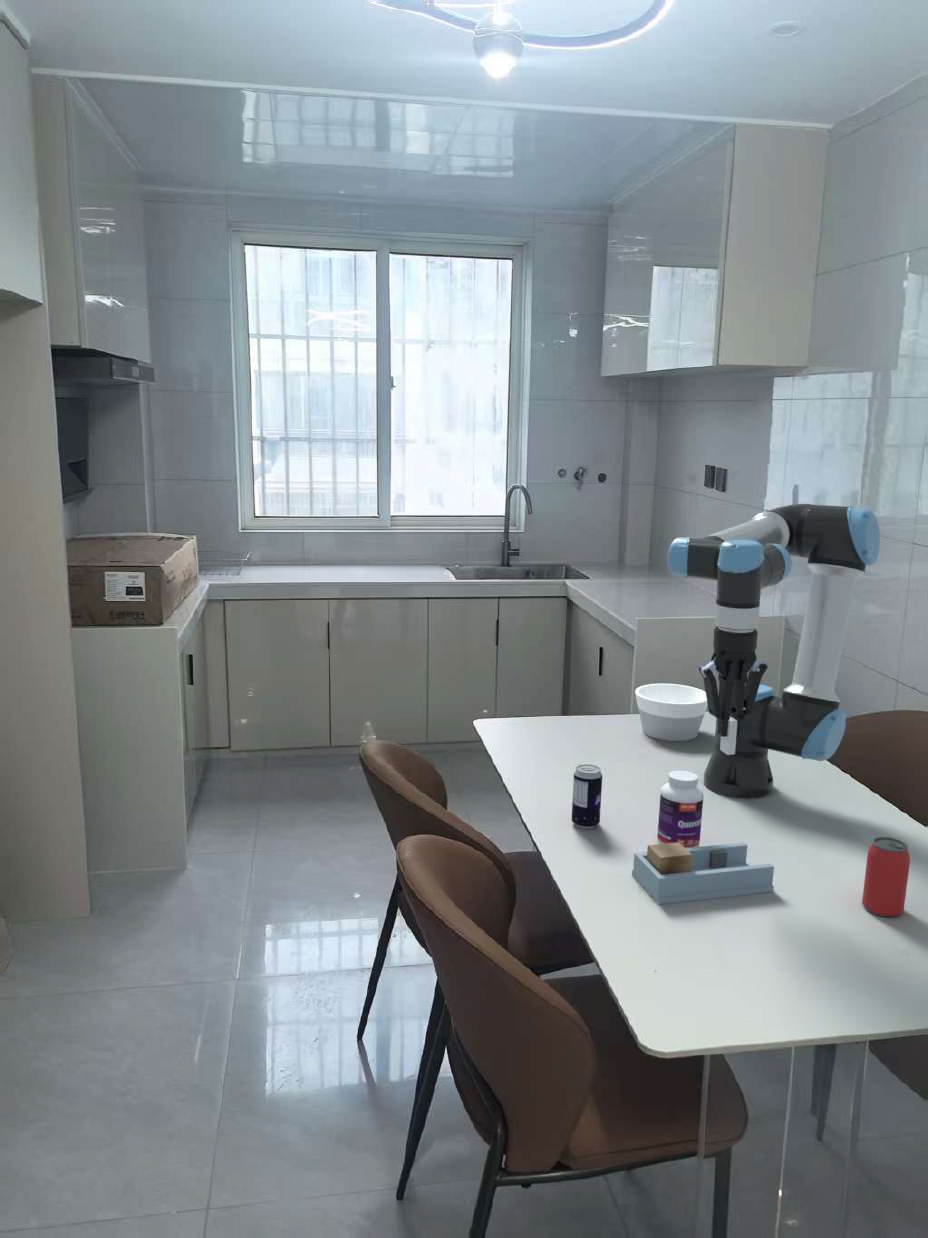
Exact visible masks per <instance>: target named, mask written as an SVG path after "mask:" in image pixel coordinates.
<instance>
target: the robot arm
mask: <svg viewBox="0 0 928 1238" xmlns="http://www.w3.org/2000/svg"><path fill="white" fill-rule="evenodd" d="M879 526H880V525H879V523H878V518H877V516H876V515H875V514H874V513H873V512H872V511H871V510H869V509H866V508H860V507H853V506H844V505H843V506H841V505H840V506H839V505H826V504H825V505H823V504H811V503H796V504H795V503H794V504H789V505H784V506H778V507H776V508H775V507H774V508H772V509H769V510H768V509H767V510H765V511H763V512H760V513H757V514H756V515H754V516H753V517H752V518H751V519H750V521H747V522H744V523H741V524H739V525H736V526H733V527H730V528H727V529H724V530H721V531H718V532H716V533H712V534H710V535H706V536H703V537H701V538H694V537H691V536H688V537H681V536H680V537H676V538H675V539H674V540H672V542H671V544H670V545H669V548H668V551H667V567H668V569H669V571H670V572H671V573H672V575H676V576H680V577H685V578H687V579H689V578H693V579H702V580H707V581H708V580H709V581H716V583H717V585H716V586H717V587H716V599H715V617H714V618H715V619H714V624H715V625H716V627H715V628H714V629H713V641H712V642H713V644H712V645H713V654H712V656H711V658H710V662H709V663H707V664H706V665H705V666H704V665H700V666H698V671H699V673H700V675H701V677H702V679H703V684H704V685H703V686H704V690H705V692H706V698H707V704H708V706H707V708H708V714H710V715H711V716H713V717H714V718H716V720H715V731H714V732H715V734H714V735H715V737H714V744H713V745H714V748H713V751H712V754H711V757H710V758H709V761H708V764H707V766H706V768H705V770H704V772H703V784H704V786H706V787H707V788H708V789H709V790H710V791H713V792H715V793H718V794H721V795H725V796H728V797H735V798H741V799H742V798H745V799H756V798H763V797H766V796H768V795H770V794H772V792H773V789H774V776H773V773H772V768H771V765H770V760H769V750H771V751H774V752H778V753H782V754H786V755H791V756H795V757H799V758H802V759H803V760H813V761H817V762H823V761H826V760H829V759H830V758H831V757H832V756H833V755H834V754H835V752H836V751H837V749H838V748H839V746H840V743H841V741H842V739H843V736H844V734H845V730H846V726H847V725H846V724H847V722H846V720H847V714H846V711H844V710H843V709H842V708H839V707H840V702H841V700H840V698H839V697H838V695H837V694H836V692H835V689H836V688H835V687H836V683H837V682H836V681H837V677H838V671H839V667H840V661H841V656H842V651H843V646H844V640H845V635H846V630H847V626H848V620H849V616H850V609H851V603H852V597H853V595H854V589H855V584H856V581H857V580H858V579H859V578H861V577H862V576H864V575H865V572H866V566H869V567H870V566H871V565H874V564H875V563H876V561H877V559H878V556H879V553H880V548H881V547H880V546H881V545H880V543H881V535H880V527H879ZM791 556H792V557H793V556H794V557H797V558H798V557H799V558H805V559H807V563H806V566H807V568H808V569H809V571H810V572H812V578H811V581H810V582H811V583H810V588H809V592H808V593H809V594H808V598H807V604H806V608H805V614H804V617H803V618H804V619H803V625H802V629H801V635H800V640H799V646H798V650H797V656H796V662H795V667H794V671H793V675H792V676H793V677H792V682H791V684H790V685H788V686H787V687H785V688H784V689H782V694H781V695H782V696H776V695H775V690H774V688H773V687H771V686H769V685H767V684H766V685H765V684H761V681H762V679H763V678H762V677H763V676H764V674H765V673H766V671H767V669H768V665H767V663H764V662H761V661H760V660H758V658H757V655H756V651H757V646H758V634H759V633H758V631H757V628H758V627H759V626H760V625H759V623H760V621H759V619H760V605H761V604H760V603H761V595H762V594H761V593H762V592H761V591H762V589H765V588H768V587H772V586H776V585H778V584H779V583H780V582H782V581H784V580H785V579H786V578H787V577H788V575H789V574H790V573H791V570H792V565H793V564H792V563H793V562H792V557H791ZM716 672H717V673H716ZM716 674H718V676H717V678H718V681H719V683H717V679H716ZM717 684H719V685H717Z"/></svg>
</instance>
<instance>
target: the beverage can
mask: <svg viewBox="0 0 928 1238" xmlns="http://www.w3.org/2000/svg"><path fill="white" fill-rule="evenodd" d="M572 781H573V783H572V785H573V786H572V804H571V806H572V807H571V822H572V823H573V824H574V825H575V826H576V827H577V828H580V829H583V830H592V829H595V828H596V827H597V826H598V825H599V824H600V821H601V808H602V807H601V806H602V789H603V774H602V769H601V767H600V766H597V765H594V764H580V765H578V766H576V767H575V771H574V773H573V780H572Z"/></svg>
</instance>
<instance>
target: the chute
mask: <svg viewBox="0 0 928 1238" xmlns="http://www.w3.org/2000/svg"><path fill="white" fill-rule="evenodd" d="M685 849H687V850H688V851H689V852H690V853H691V854H692V861H691V872H685V873H676V874H666V875H661V874H660V873H659V872H658V871H657V870H656V869H655V868H654V867H653V866H652V865H651V864H650V863H649V862H648V861H647V851H644V852H635V853H634V852H633V867H632V869H631V876H632V878H634V879H635V881H636V882H637V883H638V884H639V885H640V886H641V888H642V889H644V890H645V891H646V892H647V894H648V895H649V896H650V897H651V898H652V899H653V900H654V901H655V903H657V905H665V904H667V905H668V904H676V903H677V904H678V903H683V902H693V901H694V902H695V901H701V900H711V899H718V898H719V899H720V898H729V897H736V896H739V897H740V896H744V895H753V894H754V895H755V894H764V893H774V888H775V886H774V885H773V882H774V880H773V879H774V871H775V866H774V865H773V864H772V863H763V864H752V865H749V864H748V863H747V857H748V855H747V854H748V844H747V843H745V842H736V843H735V842H734V843H733V842H732V843H726V844H715V845H706V846H699V847H693V848H685Z"/></svg>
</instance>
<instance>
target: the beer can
mask: <svg viewBox="0 0 928 1238" xmlns="http://www.w3.org/2000/svg"><path fill="white" fill-rule="evenodd" d="M910 863H911V857H910V852H909V845H908V844H907V843H906V842H904V841H902V840H901V839H898V838H894V837H889V836H878V837H875V838H873V839H872V842H871V843H870V846H869V847H868V851H867V857H866V867H865V874H864V882H863V891H862V899H861V903H862V905H863V908H864V909H866V910H867V911H869V913H872V914H874V915H877V916H881V917H885V918H886V917H887V918H894V917H898V916H901V915H902V914H903V913H904V911H905V903H906V896H907V889H908V887H907V886H908V880H909V872H910Z"/></svg>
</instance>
